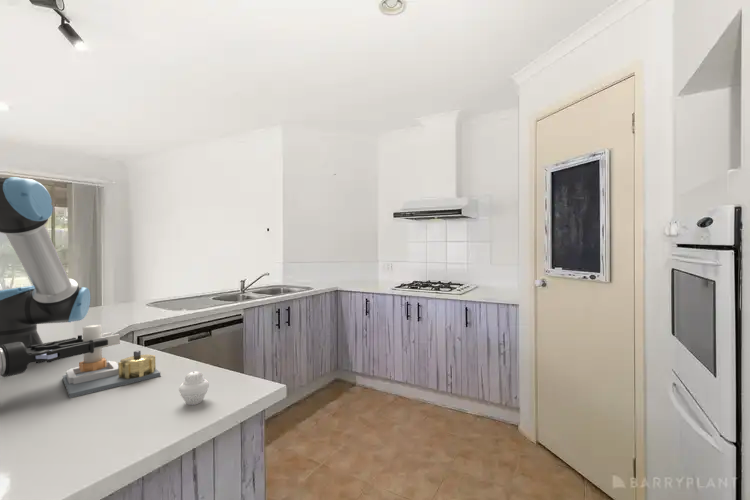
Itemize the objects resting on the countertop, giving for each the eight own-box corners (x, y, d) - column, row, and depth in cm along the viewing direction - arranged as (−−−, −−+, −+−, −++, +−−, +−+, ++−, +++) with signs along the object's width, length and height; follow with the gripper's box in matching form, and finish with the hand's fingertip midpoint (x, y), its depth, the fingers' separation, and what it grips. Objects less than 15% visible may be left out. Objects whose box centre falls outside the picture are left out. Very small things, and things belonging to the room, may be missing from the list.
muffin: (173, 408, 78) (172, 376, 77) (189, 396, 84) (188, 366, 84) (200, 408, 77) (199, 376, 77) (214, 396, 83) (214, 366, 83)
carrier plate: (62, 379, 97) (62, 370, 97) (143, 362, 110) (143, 354, 110) (69, 397, 84) (69, 387, 84) (160, 375, 98) (160, 366, 98)
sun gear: (115, 373, 97) (115, 352, 97) (151, 366, 103) (150, 345, 103) (122, 381, 91) (121, 358, 91) (159, 372, 97) (158, 351, 97)
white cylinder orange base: (78, 368, 97) (77, 326, 97) (104, 363, 101) (103, 323, 101) (81, 373, 93) (80, 329, 93) (107, 368, 97) (106, 326, 97)
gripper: (-13, 372, 85) (100, 347, 106) (13, 384, 77) (131, 354, 97) (-13, 341, 85) (100, 322, 106) (12, 349, 77) (130, 327, 97)
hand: (114, 338), depth 102 cm, fingers closed on white cylinder orange base, 4 cm apart
